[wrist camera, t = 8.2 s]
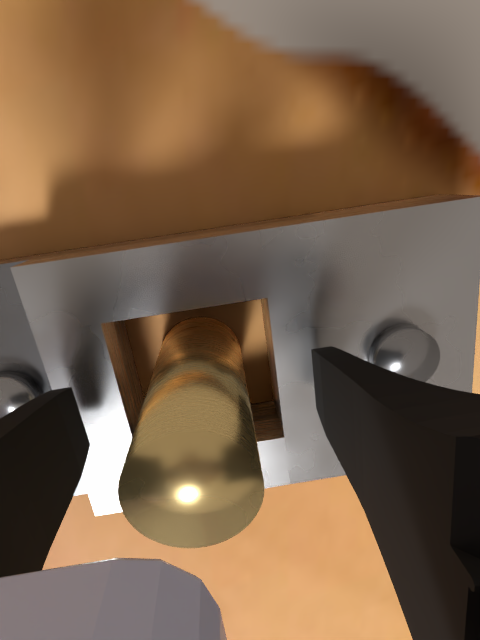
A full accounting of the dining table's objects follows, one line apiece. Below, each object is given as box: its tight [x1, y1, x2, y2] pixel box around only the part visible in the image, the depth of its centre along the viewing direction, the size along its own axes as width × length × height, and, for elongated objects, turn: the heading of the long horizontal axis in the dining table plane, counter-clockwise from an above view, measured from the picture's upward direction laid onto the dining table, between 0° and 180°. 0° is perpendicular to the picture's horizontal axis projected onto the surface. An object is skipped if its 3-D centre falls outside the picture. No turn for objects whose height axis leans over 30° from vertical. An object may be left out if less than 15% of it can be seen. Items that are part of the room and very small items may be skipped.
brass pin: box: [118, 317, 264, 548], centre depth 11 cm, size 3×3×7 cm
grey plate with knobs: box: [0, 194, 480, 516], centre depth 13 cm, size 18×9×3 cm, turn 98°
